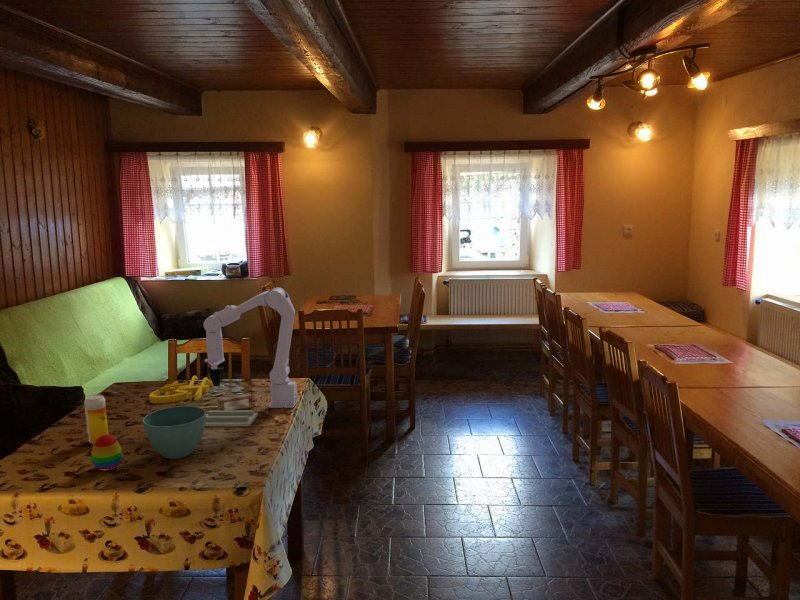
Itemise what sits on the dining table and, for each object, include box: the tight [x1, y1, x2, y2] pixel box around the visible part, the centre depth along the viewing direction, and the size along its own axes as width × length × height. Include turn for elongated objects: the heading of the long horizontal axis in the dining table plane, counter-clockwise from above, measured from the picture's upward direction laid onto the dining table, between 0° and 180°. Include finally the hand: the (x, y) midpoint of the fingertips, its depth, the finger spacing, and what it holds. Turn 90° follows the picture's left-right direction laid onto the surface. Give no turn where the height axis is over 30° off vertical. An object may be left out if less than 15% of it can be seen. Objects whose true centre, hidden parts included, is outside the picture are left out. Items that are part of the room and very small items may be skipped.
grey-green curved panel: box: [205, 409, 259, 427], centre depth 228 cm, size 18×11×2 cm, turn 88°
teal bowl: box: [142, 405, 207, 460], centre depth 199 cm, size 18×18×12 cm
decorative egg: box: [90, 434, 123, 470], centre depth 190 cm, size 8×8×10 cm
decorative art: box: [148, 374, 213, 405], centre depth 264 cm, size 21×3×30 cm
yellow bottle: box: [83, 394, 109, 445], centre depth 210 cm, size 6×6×15 cm
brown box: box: [217, 392, 254, 411], centre depth 239 cm, size 12×4×5 cm, turn 117°
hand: (217, 383), depth 242 cm, fingers open, 7 cm apart
